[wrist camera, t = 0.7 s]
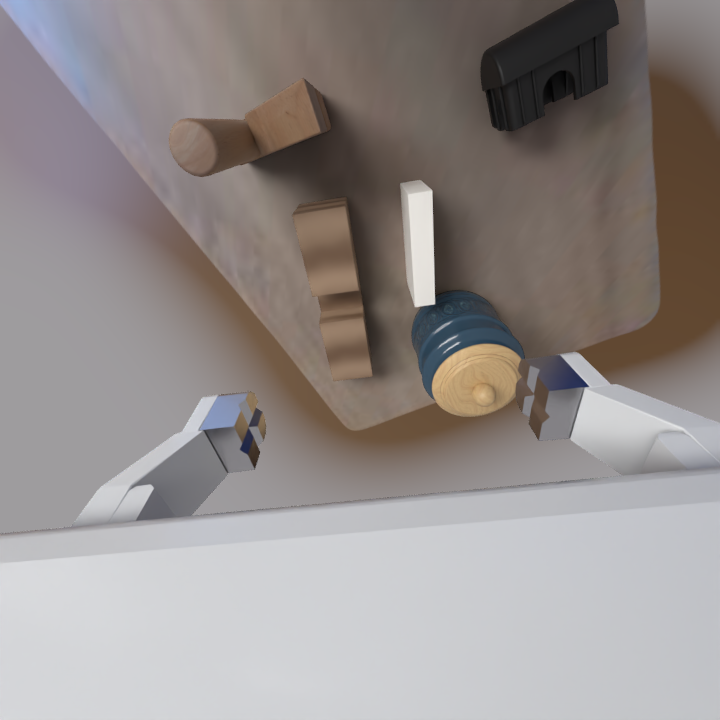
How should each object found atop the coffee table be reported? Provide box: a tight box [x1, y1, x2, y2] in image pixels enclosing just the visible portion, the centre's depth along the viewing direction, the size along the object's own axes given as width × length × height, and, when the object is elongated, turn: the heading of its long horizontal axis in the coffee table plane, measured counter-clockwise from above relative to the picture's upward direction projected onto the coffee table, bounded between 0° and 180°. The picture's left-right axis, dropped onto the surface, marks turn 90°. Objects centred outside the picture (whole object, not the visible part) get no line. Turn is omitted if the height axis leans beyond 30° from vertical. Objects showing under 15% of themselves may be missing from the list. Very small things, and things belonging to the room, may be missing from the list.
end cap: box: [481, 0, 619, 131], centre depth 33 cm, size 10×7×7 cm
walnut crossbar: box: [292, 197, 373, 381], centre depth 47 cm, size 24×6×6 cm, turn 9°
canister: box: [412, 290, 525, 417], centre depth 46 cm, size 13×13×18 cm
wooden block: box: [169, 78, 331, 177], centre depth 31 cm, size 4×11×18 cm, turn 108°
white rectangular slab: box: [400, 180, 435, 307], centre depth 42 cm, size 13×2×8 cm, turn 8°
